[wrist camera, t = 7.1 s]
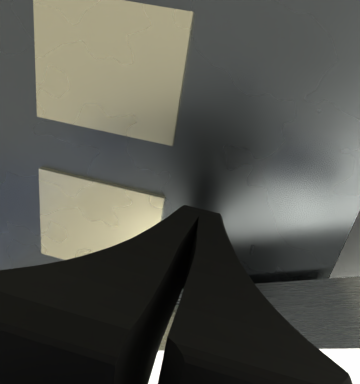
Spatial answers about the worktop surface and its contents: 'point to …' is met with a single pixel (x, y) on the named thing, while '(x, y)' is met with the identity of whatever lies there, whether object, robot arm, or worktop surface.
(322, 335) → the swing bar
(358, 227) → the worktop surface
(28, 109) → the chassis tray
